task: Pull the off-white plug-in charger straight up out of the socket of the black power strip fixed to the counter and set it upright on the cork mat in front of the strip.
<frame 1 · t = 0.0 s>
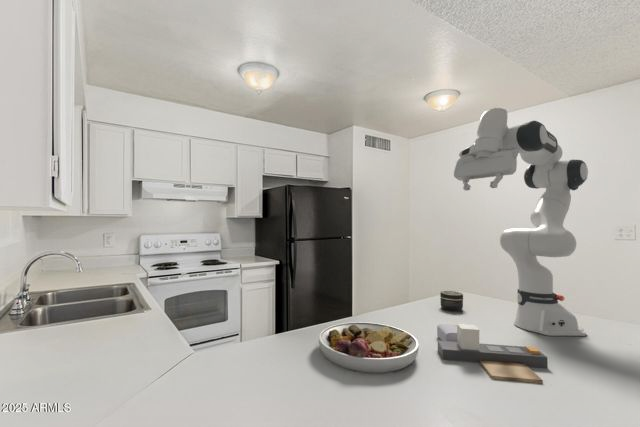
hand: (479, 188, 104), 52 cm above the countertop, tool tilted 20°, fingers open, 8 cm apart
jar: (451, 309, 146), on the countertop
charger 2: (451, 339, 108), on the countertop
bowl: (367, 354, 95), on the countertop
power strip: (489, 358, 93), on the countertop
charger: (467, 346, 94), point 3 cm above the countertop, touching power strip
cork mat: (509, 372, 84), on the countertop
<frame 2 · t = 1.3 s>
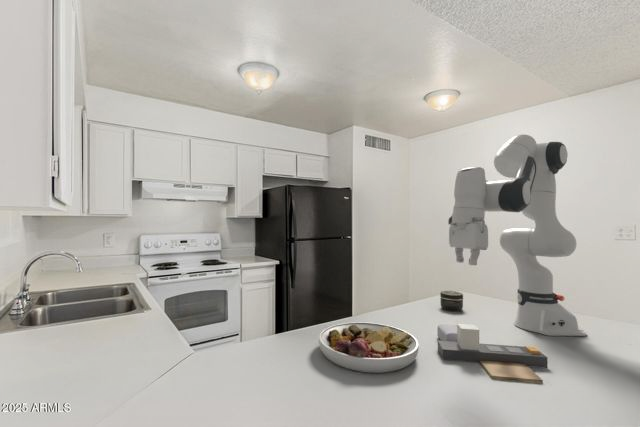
hand: (465, 263, 95), 28 cm above the countertop, tool pointing down, fingers open, 8 cm apart
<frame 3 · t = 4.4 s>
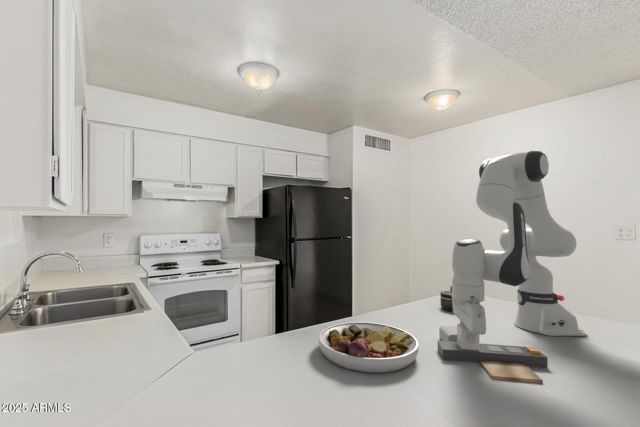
hand: (467, 339, 94), 5 cm above the countertop, tool pointing down, fingers closed on charger, 4 cm apart
charger 2: (454, 341, 107), on the countertop
charger: (467, 346, 94), point 3 cm above the countertop, touching gripper, power strip
everything else where it was.
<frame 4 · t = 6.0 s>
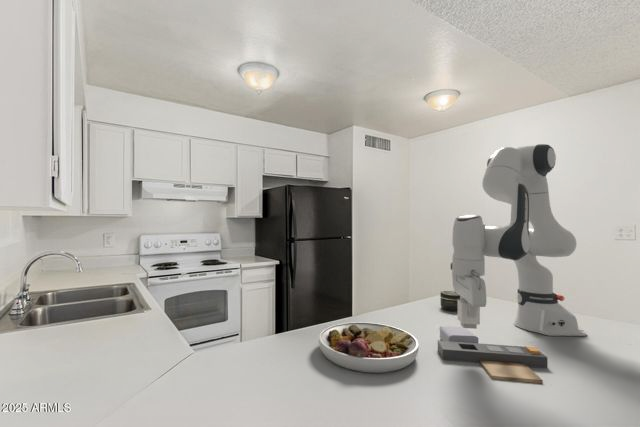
hand: (468, 313, 94), 13 cm above the countertop, tool pointing down, fingers closed on charger, 4 cm apart
charger: (468, 321, 94), point 11 cm above the countertop, touching gripper
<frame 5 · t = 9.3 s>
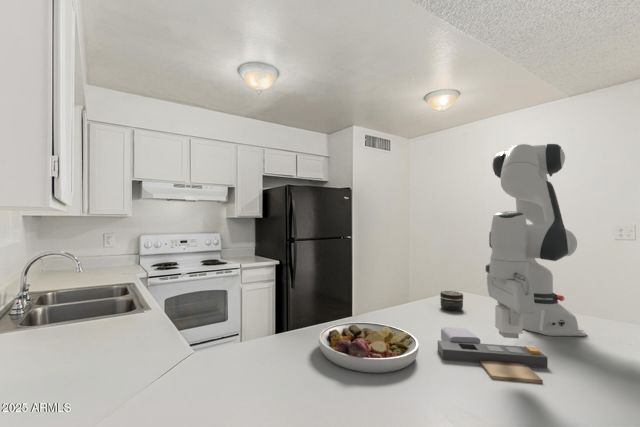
hand: (508, 321, 84), 14 cm above the countertop, tool pointing down, fingers closed on charger, 4 cm apart
charger 2: (456, 343, 105), on the countertop
charger: (508, 330, 84), point 11 cm above the countertop, touching gripper
everything else where it was.
when the fingers open (6 cm above the countertop, at t = 11.4 s): charger drops 2 cm, resting on cork mat.
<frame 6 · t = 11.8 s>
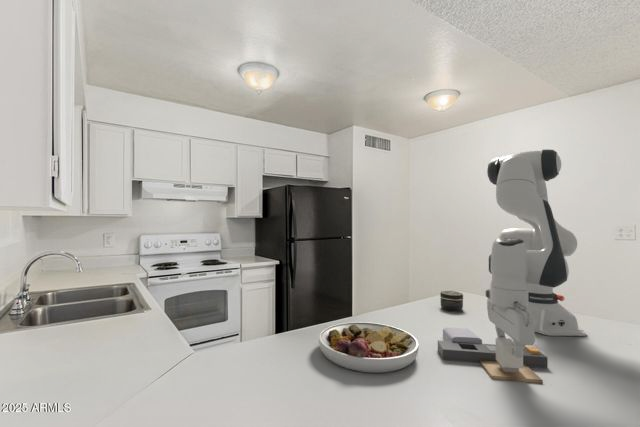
hand: (509, 349, 84), 6 cm above the countertop, tool pointing down, fingers open, 8 cm apart
charger: (509, 363, 84), point 2 cm above the countertop, touching cork mat
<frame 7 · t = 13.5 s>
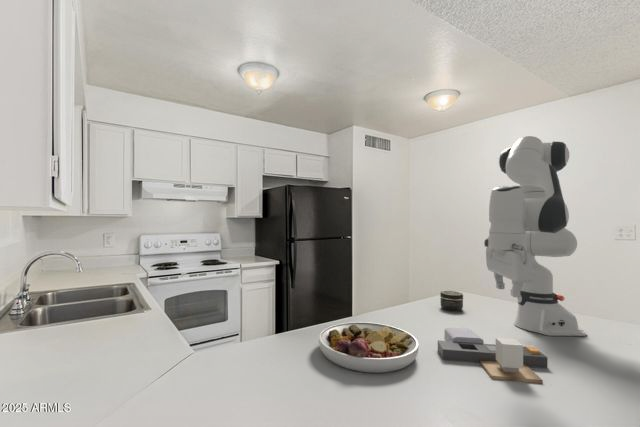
hand: (507, 292, 87), 21 cm above the countertop, tool pointing down, fingers open, 8 cm apart
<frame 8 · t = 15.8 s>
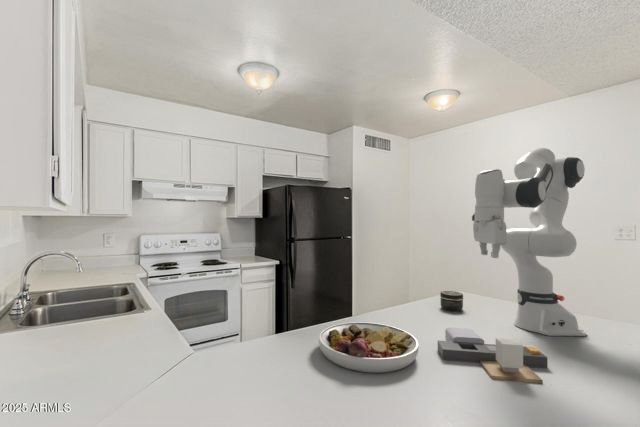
hand: (489, 256, 106), 29 cm above the countertop, tool pointing down, fingers open, 8 cm apart
at the end: charger inside the target area on the cork mat (0.1 cm from its centre), point 2.3 cm above the cork mat's base; charger tilted 0°; the gripper is holding nothing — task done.
